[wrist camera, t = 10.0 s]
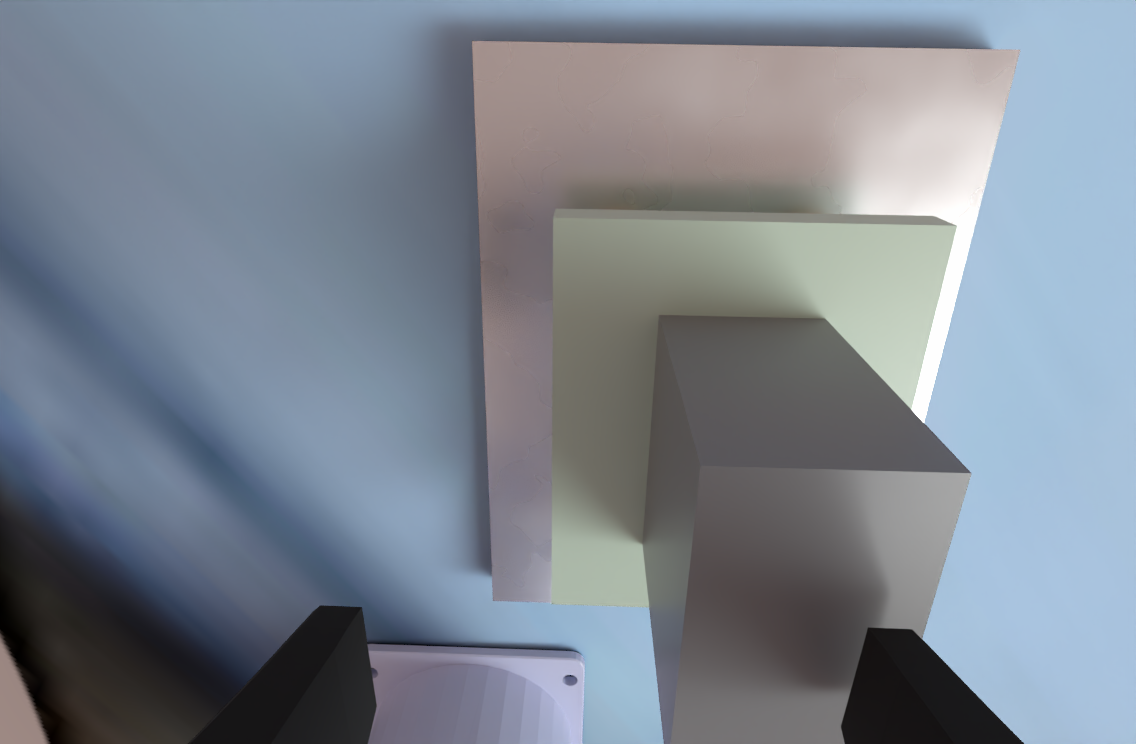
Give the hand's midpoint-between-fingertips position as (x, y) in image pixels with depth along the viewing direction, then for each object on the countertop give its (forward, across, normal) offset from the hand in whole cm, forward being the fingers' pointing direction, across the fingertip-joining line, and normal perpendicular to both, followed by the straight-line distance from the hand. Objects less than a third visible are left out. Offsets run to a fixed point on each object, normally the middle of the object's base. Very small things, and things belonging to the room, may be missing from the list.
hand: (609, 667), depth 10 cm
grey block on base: (+7, -3, 0) cm, 8 cm away
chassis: (+10, -3, 0) cm, 11 cm away
